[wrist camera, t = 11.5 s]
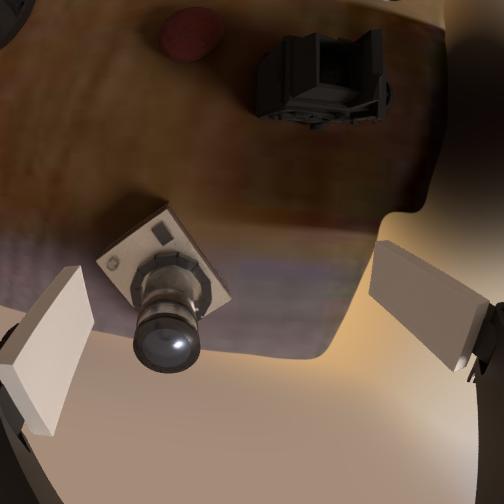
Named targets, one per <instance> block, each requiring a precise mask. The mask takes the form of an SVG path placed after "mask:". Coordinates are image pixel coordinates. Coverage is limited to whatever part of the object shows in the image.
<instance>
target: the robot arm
mask: <svg viewBox="0 0 504 504" xmlns="http://www.w3.org/2000/svg"><path fill="white" fill-rule="evenodd" d="M34 3H35V0H0V49H2V48H3V47H4V46H5V45H7V44H8V43H9V42H10V41H11V40H12V39H13V38H14V37H15V35H16V34H17V33H18V32H19V31H20V29H21V28H22V26H23V25H24V24H25V22H26V20H27V19H28V17H29V15H30V13H31V11H32V9H33V6H34ZM369 295H370V296H371V297H373V298H374V299H375V300H376V301H377V302H378V303H379V304H380V305H382V306H383V307H384V308H385V309H386V310H387V311H388V312H389V313H390V314H392V315H393V316H394V317H395V318H396V319H397V320H398V321H399V322H400V323H401V324H403V325H404V326H405V327H406V328H407V329H408V330H409V331H410V332H411V333H412V334H414V336H416V337H417V338H418V339H419V340H420V341H421V342H422V343H423V344H424V345H425V346H426V347H427V348H428V349H429V350H430V351H431V352H433V353H434V354H435V355H436V356H437V357H438V358H439V359H440V360H441V361H442V362H443V363H444V364H445V365H446V366H447V367H448V368H449V369H450V370H451V371H453V372H455V371H458V370H460V369H462V368H464V367H466V366H467V363H468V361H469V359H470V356H471V354H472V353H473V354H474V355H476V356H477V358H476V361H475V363H474V365H473V368H472V370H471V372H470V374H469V377H468V379H467V382H470V380H471V378H472V377H473V376H475V379H474V381H473V383H476V391H477V405H478V430H479V454H478V455H479V456H478V478H477V490H476V500H475V504H504V302H500V303H497V304H496V306H494V305H492V304H490V303H489V302H490V301H489V300H488V299H486V298H485V297H483V296H482V295H480V294H478V293H477V292H475V291H474V290H472V289H470V288H469V287H467V286H465V285H464V284H462V283H461V282H459V281H458V280H456V279H454V278H453V277H451V276H449V275H448V274H446V273H444V272H443V271H441V270H439V269H438V268H436V267H434V266H432V265H431V264H429V263H427V262H426V261H424V260H422V259H421V258H419V257H417V256H415V255H414V254H412V253H410V252H408V251H406V250H405V249H403V248H401V247H399V246H397V245H396V244H394V243H392V242H390V241H388V240H386V241H375V250H374V258H373V267H372V274H371V281H370V288H369ZM93 324H94V319H93V316H92V312H91V308H90V304H89V300H88V296H87V292H86V288H85V283H84V279H83V274H82V270H81V265H78V266H66V267H64V268H63V269H62V271H61V272H60V273H59V274H58V275H57V277H56V278H55V279H54V280H53V281H52V282H51V284H50V285H49V286H48V287H47V289H46V290H45V291H44V292H43V293H42V295H41V296H40V297H39V298H38V300H37V301H36V302H35V304H34V305H33V306H32V307H31V309H30V310H29V311H28V313H27V314H26V315H25V317H24V318H23V319H22V321H21V322H20V323H17V324H16V325H15V326H14V327H12V328H11V329H10V330H8V331H7V333H6V334H5V335H4V337H3V338H2V341H0V504H64V503H63V502H62V501H61V499H60V497H59V496H58V494H57V493H56V491H55V489H54V488H53V486H52V485H51V483H50V481H49V480H48V478H47V476H46V474H45V473H44V471H43V469H42V467H41V466H40V464H39V462H38V460H37V458H36V456H35V454H34V453H33V451H32V449H31V447H30V445H29V443H28V441H27V438H26V437H25V435H24V434H23V432H22V431H21V429H22V426H23V424H24V421H25V423H26V424H27V426H28V427H29V429H30V430H31V431H32V433H33V434H37V435H44V436H52V437H53V435H54V432H55V428H56V425H57V422H58V419H59V415H60V413H61V409H62V406H63V403H64V400H65V397H66V395H67V391H68V389H69V386H70V383H71V380H72V377H73V375H74V372H75V369H76V367H77V364H78V361H79V359H80V356H81V354H82V351H83V349H84V346H85V344H86V341H87V339H88V336H89V334H90V332H91V329H92V327H93Z"/></svg>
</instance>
